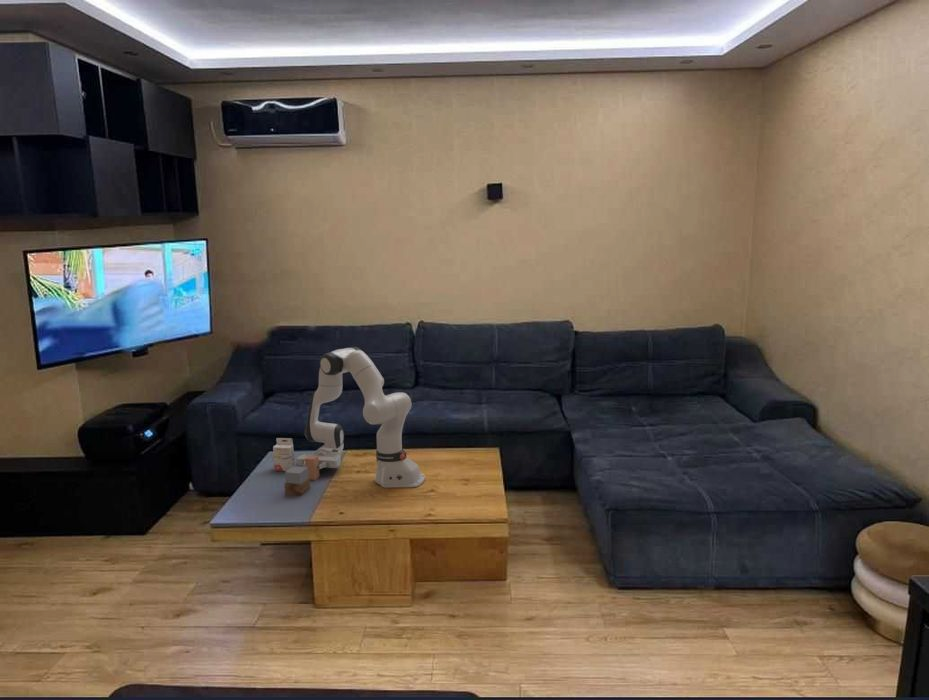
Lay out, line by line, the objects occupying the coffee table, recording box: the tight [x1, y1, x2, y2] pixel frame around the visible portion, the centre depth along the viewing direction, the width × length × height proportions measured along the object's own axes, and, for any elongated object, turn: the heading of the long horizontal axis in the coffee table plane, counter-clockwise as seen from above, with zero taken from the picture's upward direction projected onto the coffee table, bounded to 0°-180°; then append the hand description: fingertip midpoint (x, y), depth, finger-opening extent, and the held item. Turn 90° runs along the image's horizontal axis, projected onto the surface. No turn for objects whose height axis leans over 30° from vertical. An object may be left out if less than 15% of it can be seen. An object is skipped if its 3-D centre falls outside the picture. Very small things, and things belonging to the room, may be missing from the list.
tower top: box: [284, 465, 309, 484], centre depth 289 cm, size 7×7×5 cm
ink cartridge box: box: [272, 437, 296, 472], centre depth 315 cm, size 9×5×15 cm, turn 84°
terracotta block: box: [305, 455, 320, 481], centre depth 304 cm, size 4×4×10 cm
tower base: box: [284, 478, 312, 496], centre depth 290 cm, size 8×8×5 cm
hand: (311, 467), depth 303 cm, fingers open, 5 cm apart
